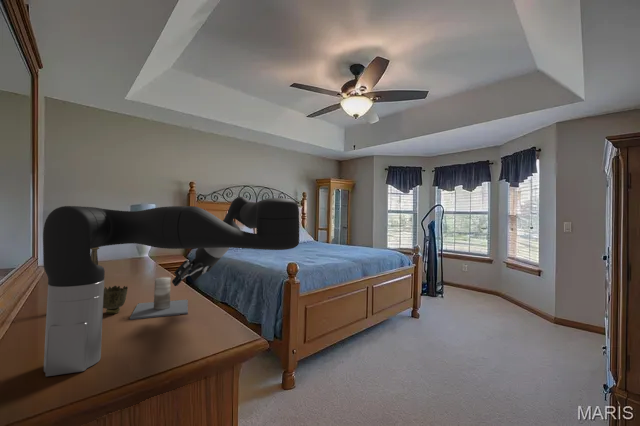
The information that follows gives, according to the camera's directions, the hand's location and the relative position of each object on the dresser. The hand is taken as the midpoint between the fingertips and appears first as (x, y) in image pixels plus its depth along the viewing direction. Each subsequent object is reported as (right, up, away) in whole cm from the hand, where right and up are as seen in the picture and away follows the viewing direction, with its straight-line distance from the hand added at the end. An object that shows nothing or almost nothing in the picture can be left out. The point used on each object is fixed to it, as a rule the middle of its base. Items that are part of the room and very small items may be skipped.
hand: (184, 281), depth 98 cm
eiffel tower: (-33, -9, +3) cm, 34 cm away
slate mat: (-8, -10, +2) cm, 13 cm away
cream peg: (-8, -9, +1) cm, 12 cm away
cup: (-21, -10, -3) cm, 24 cm away
